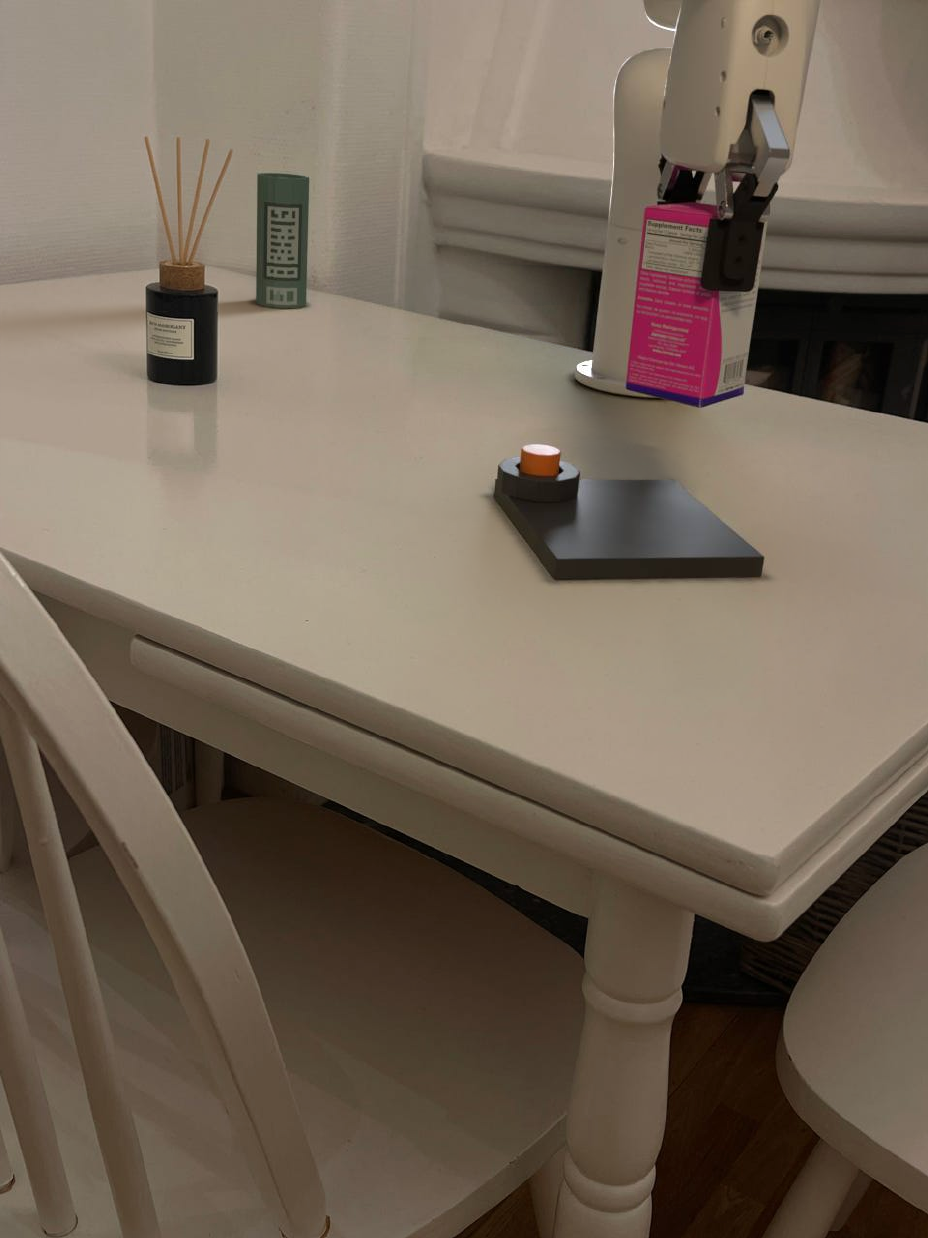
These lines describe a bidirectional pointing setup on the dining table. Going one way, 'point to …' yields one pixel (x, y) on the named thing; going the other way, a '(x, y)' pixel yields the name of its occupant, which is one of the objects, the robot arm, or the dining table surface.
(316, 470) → the dining table surface
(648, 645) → the dining table surface
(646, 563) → the scale
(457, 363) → the dining table surface
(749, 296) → the supplement box
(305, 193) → the can
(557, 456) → the tare button
